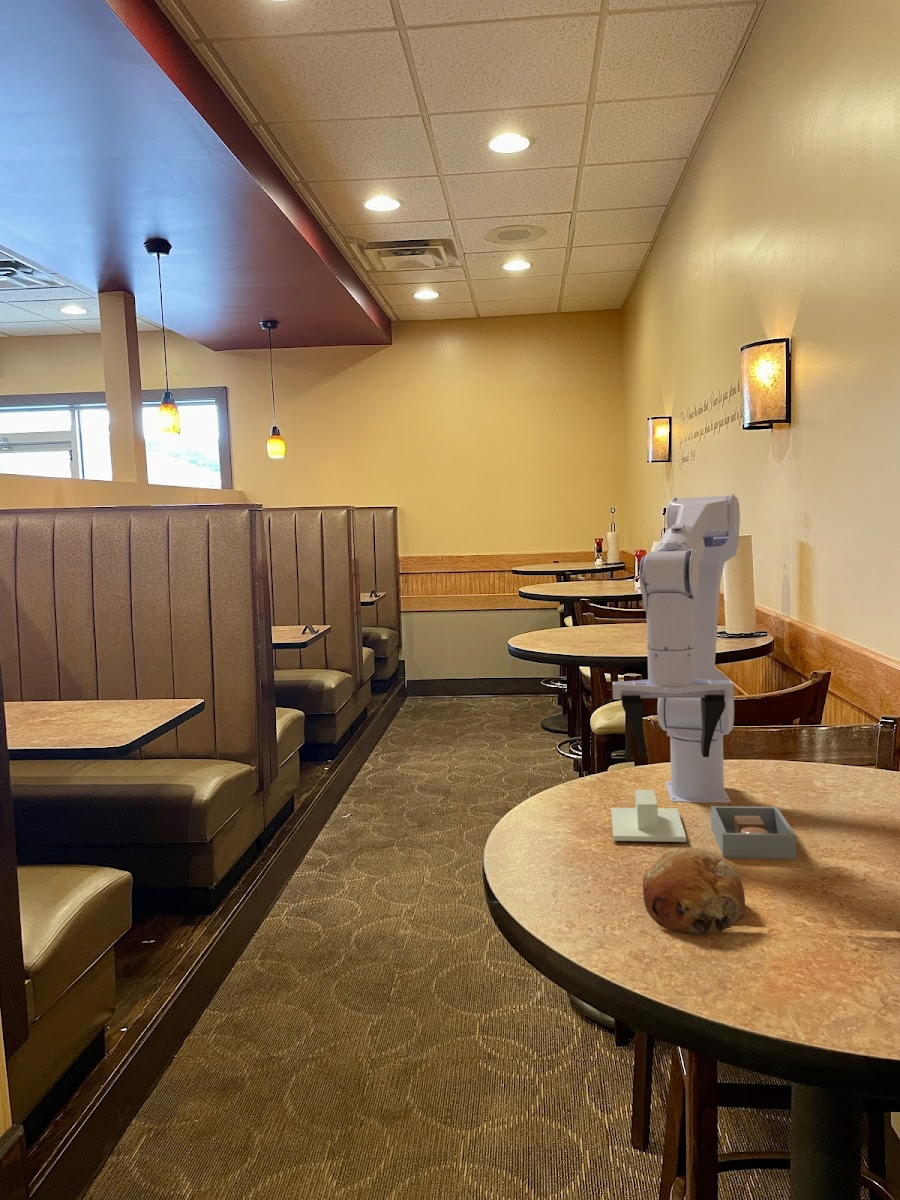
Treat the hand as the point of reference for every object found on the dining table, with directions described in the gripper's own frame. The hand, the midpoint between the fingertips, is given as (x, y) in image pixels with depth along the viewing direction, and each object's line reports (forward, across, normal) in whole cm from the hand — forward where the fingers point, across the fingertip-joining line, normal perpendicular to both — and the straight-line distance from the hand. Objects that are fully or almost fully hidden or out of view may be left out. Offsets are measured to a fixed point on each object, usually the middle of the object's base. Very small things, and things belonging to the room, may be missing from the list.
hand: (673, 754), depth 107 cm
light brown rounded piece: (+10, +9, -6) cm, 14 cm away
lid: (+9, -4, 0) cm, 10 cm away
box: (+10, +9, -4) cm, 14 cm away
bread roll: (+10, 0, -23) cm, 25 cm away
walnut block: (+10, +8, -3) cm, 13 cm away
